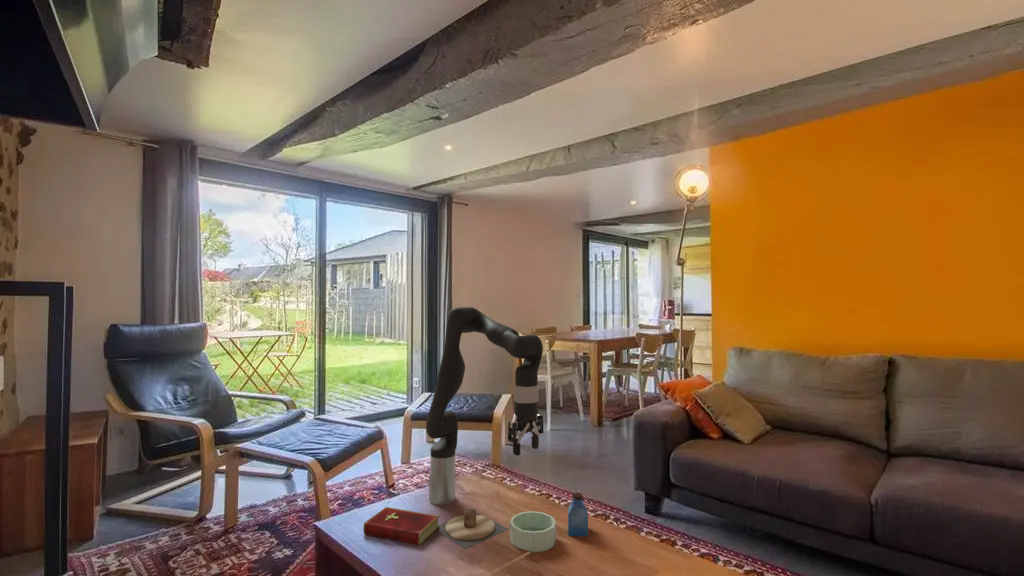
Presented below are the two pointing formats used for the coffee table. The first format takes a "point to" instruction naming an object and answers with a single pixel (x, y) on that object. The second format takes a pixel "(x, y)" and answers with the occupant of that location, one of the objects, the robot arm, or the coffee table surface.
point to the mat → (467, 544)
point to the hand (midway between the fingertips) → (526, 451)
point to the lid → (469, 526)
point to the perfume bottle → (577, 517)
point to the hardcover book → (402, 526)
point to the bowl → (533, 531)
